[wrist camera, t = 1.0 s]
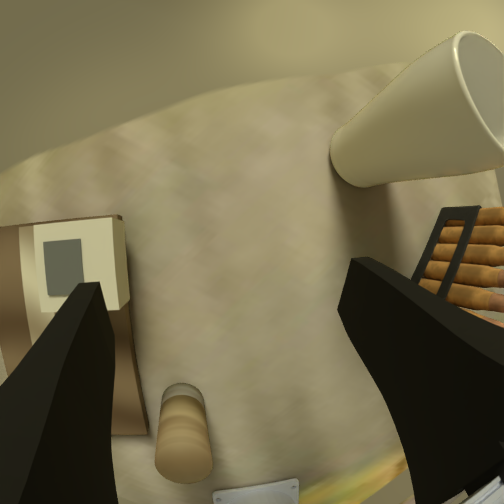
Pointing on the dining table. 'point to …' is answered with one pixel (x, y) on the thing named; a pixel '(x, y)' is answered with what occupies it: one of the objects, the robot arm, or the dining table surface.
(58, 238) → the block
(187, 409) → the brown upright cylinder
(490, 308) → the ammunition clip
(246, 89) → the dining table surface
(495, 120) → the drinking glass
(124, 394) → the board
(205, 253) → the dining table surface
